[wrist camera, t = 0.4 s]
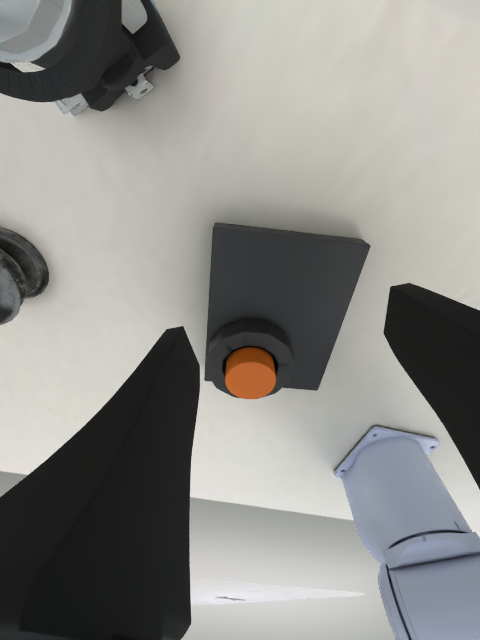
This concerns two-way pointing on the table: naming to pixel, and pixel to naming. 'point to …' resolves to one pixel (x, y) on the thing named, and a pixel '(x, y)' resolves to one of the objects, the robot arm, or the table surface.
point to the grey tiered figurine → (19, 273)
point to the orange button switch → (279, 299)
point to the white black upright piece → (82, 50)
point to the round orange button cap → (250, 373)
